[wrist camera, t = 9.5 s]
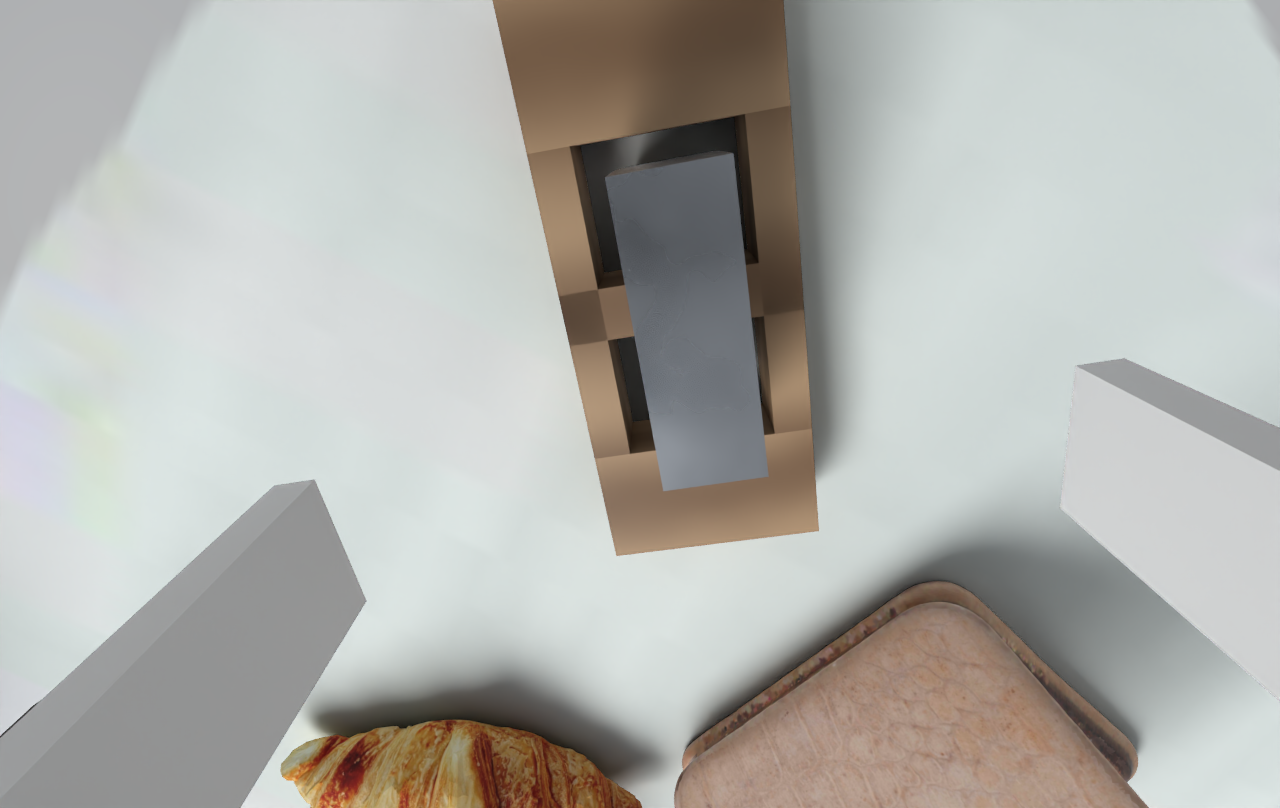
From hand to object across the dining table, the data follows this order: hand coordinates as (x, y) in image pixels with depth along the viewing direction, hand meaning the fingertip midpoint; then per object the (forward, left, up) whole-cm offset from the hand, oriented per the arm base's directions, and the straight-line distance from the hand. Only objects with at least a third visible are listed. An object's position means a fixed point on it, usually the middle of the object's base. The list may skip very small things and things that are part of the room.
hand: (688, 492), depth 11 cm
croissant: (-16, -26, -17) cm, 35 cm away
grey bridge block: (+1, 0, -16) cm, 16 cm away
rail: (0, 0, -17) cm, 17 cm away
